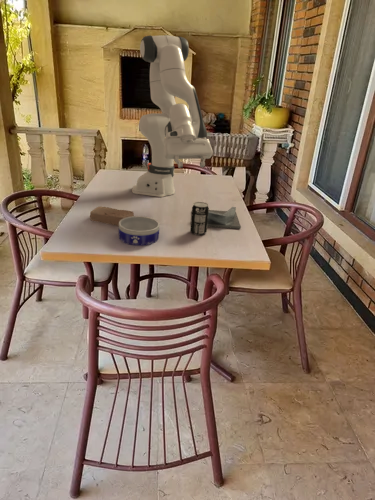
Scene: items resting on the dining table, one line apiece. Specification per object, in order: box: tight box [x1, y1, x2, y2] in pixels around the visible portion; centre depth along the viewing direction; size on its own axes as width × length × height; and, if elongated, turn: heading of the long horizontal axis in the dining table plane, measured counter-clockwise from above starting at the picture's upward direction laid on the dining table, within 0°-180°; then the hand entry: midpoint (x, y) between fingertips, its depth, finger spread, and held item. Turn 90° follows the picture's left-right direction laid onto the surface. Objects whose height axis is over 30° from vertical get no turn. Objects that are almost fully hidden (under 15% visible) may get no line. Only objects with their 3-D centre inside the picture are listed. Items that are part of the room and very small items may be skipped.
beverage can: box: [189, 201, 210, 236], centre depth 150 cm, size 7×7×12 cm
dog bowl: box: [118, 215, 161, 247], centre depth 143 cm, size 15×15×6 cm
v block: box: [207, 206, 242, 230], centre depth 166 cm, size 18×20×5 cm
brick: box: [89, 205, 135, 227], centre depth 157 cm, size 17×8×5 cm, turn 72°
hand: (192, 166), depth 152 cm, fingers open, 8 cm apart
